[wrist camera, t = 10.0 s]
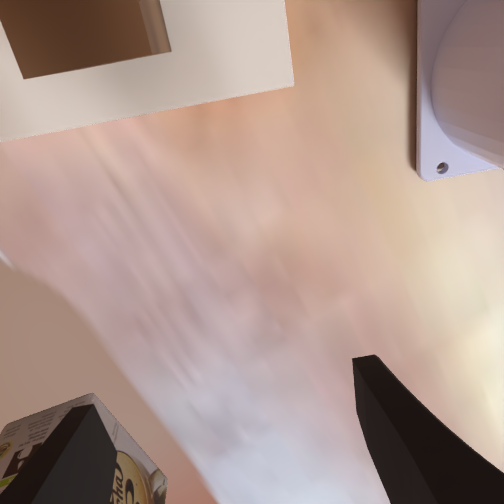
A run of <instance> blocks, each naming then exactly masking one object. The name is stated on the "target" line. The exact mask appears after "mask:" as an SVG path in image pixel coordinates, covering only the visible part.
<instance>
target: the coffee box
mask: <svg viewBox="0 0 504 504" xmlns="http://www.w3.org/2000/svg"><path fill="white" fill-rule="evenodd" d="M89 404H94V405H95V407H96V409H97V411H98V413H99V415H100V417H101V420H102V422H103V424H104V426H105V428H106V430H107V432H108V434H109V436H110V438H111V440H112V442H113V444H114V446H115V448H116V450H117V452H118V453H117V461H116V469H115V477H114V483H113V490H112V495H111V499H110V503H109V504H165V498H166V490H167V482H168V479H167V478H166V476H165V475H163V473H162V472H161V471H160V469H159V468H158V467H157V466H156V465H155V464H154V462H153V461H152V460H151V459H150V458H149V457H148V455H147V454H146V453H145V452H144V451H143V450H142V448H141V447H140V446H139V445H138V444H137V443H136V442H135V440H134V439H133V438H132V437H131V436H130V435H129V433H128V432H127V431H126V430H125V429H124V428H123V427H122V425H121V424H120V423H119V422H118V421H117V420H116V419H115V417H114V416H113V415H112V414H111V413H110V412H109V410H108V409H107V408H106V407H105V406H104V405H103V403H102V402H101V401H100V400H99V399H98V398H97V396H96V395H95V394H94V393H90V394H87V395H84V396H81V397H79V398H76V399H74V400H70V401H68V402H66V403H63V404H60V405H57V406H55V407H51V408H49V409H46V410H43V411H41V412H38V413H36V414H33V415H30V416H27V417H24V418H22V419H19V420H17V421H14V422H11V423H9V424H7V425H6V426H5V427H4V429H3V430H2V432H1V434H0V494H1V493H2V492H3V490H4V489H5V488H6V487H7V486H8V485H9V484H10V483H11V481H12V480H13V479H14V478H15V477H16V475H17V474H18V473H19V472H20V471H21V469H22V468H23V467H24V466H25V465H26V463H27V462H28V461H29V460H30V458H31V457H32V456H33V455H34V454H35V452H36V451H37V450H38V449H39V447H40V446H41V445H42V444H43V443H44V441H45V440H46V439H47V438H48V436H49V435H50V434H51V433H52V431H53V430H54V429H55V428H56V426H57V425H58V424H59V423H60V421H61V420H62V419H63V418H64V417H65V415H66V414H67V413H68V412H69V411H70V410H71V408H72V407H77V406H83V405H89Z"/></svg>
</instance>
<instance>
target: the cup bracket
mask: <svg viewBox="0 0 504 504" xmlns="http://www.w3.org/2000/svg"><path fill="white" fill-rule="evenodd" d="M160 4H161V8H162V12H163V17H164V21H165V25H166V29H167V34H168V38H169V42H170V46H171V50H172V52H168V53H163V54H158V55H152V56H147V57H142V58H137V59H132V60H127V61H122V62H116V63H111V64H106V65H101V66H96V67H91V68H86V69H80V70H75V71H69V72H64V73H58V74H52V75H47V76H41V77H35V78H30V79H23V77H22V74H21V72H20V69H19V67H18V64H17V61H16V59H15V56H14V54H13V51H12V49H11V46H10V44H9V41H8V39H7V36H6V34H5V31H4V29H3V26H2V23H1V21H0V142H5V141H10V140H16V139H21V138H26V137H31V136H36V135H42V134H47V133H52V132H57V131H62V130H67V129H73V128H78V127H83V126H88V125H93V124H99V123H104V122H109V121H114V120H119V119H125V118H130V117H135V116H140V115H145V114H150V113H156V112H161V111H166V110H171V109H176V108H182V107H187V106H192V105H197V104H202V103H207V102H213V101H218V100H223V99H228V98H233V97H239V96H244V95H249V94H254V93H259V92H265V91H270V90H275V89H280V88H285V87H290V86H294V77H293V69H292V60H291V52H290V43H289V35H288V26H287V18H286V10H285V1H284V0H160Z"/></svg>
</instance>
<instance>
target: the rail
mask: <svg viewBox="0 0 504 504" xmlns="http://www.w3.org/2000/svg"><path fill="white" fill-rule="evenodd" d="M0 21H1V23H2V26H3V29H4V31H5V34H6V36H7V39H8V41H9V44H10V46H11V49H12V51H13V54H14V56H15V59H16V61H17V64H18V67H19V69H20V72H21V74H22V77H23V79H30V78H35V77H41V76H47V75H52V74H58V73H64V72H69V71H75V70H80V69H86V68H91V67H96V66H101V65H106V64H111V63H116V62H122V61H127V60H132V59H137V58H142V57H147V56H152V55H158V54H163V53H168V52H172V50H171V46H170V42H169V38H168V34H167V29H166V25H165V21H164V17H163V12H162V8H161V4H160V0H0Z"/></svg>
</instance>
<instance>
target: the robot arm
mask: <svg viewBox="0 0 504 504" xmlns="http://www.w3.org/2000/svg"><path fill="white" fill-rule="evenodd" d="M442 162H444V168H443V169H442V170H441V171H439V172H437V170H436V169H437V166H438V165H439V164H440V163H442ZM498 168H502V169H504V0H418V29H417V149H416V171H417V175H418V176H419V177H420V178H421V179H423V180H425V181H433V180H439V179H444V178H450V177H455V176H460V175H466V174H471V173H477V172H482V171H487V170H493V169H498ZM352 362H353V374H354V386H355V398H356V411H357V415H358V418H359V421H360V425H361V428H362V431H363V435H364V438H365V441H366V444H367V447H368V450H369V453H370V455H371V457H372V460H373V462H374V465H375V467H376V469H377V472H378V474H379V477H380V479H381V481H382V484H383V486H384V488H385V491H386V493H387V496H388V498H389V500H390V503H391V504H504V473H503V472H501V471H500V470H499V469H498V468H496V467H495V466H494V465H492V464H491V463H490V462H488V461H487V460H486V459H485V458H483V457H482V456H481V455H480V454H478V453H477V452H476V451H475V450H473V449H472V448H471V447H470V446H469V445H467V444H466V443H465V442H464V441H463V440H461V439H460V438H459V437H458V436H457V435H456V434H455V433H453V432H452V431H451V430H450V429H449V428H448V427H447V426H445V425H444V424H443V423H442V422H441V421H440V420H439V419H438V418H437V417H436V416H435V415H433V414H432V413H431V412H430V411H429V410H428V409H427V408H426V407H425V406H424V405H423V404H422V403H421V402H420V401H419V400H418V399H417V398H416V397H415V396H414V395H413V394H412V393H411V392H410V391H409V390H408V389H407V388H406V387H405V386H404V385H403V384H402V383H401V382H400V381H399V380H398V379H397V378H396V376H395V375H394V374H393V373H392V372H391V371H390V370H389V369H388V368H387V366H386V365H385V364H384V363H383V362H382V361H381V359H380V358H379V357H377V356H376V355H369V356H364V357H358V358H352ZM117 453H118V452H117V450H116V448H115V446H114V444H113V442H112V440H111V438H110V436H109V434H108V432H107V430H106V428H105V426H104V424H103V422H102V420H101V417H100V415H99V413H98V411H97V409H96V407H95V405H94V404H89V405H83V406H77V407H72V408H71V410H70V411H69V412H68V413H67V414H66V415H65V417H64V418H63V419H62V420H61V421H60V423H59V424H58V425H57V426H56V428H55V429H54V430H53V431H52V433H51V434H50V435H49V436H48V438H47V439H46V440H45V441H44V443H43V444H42V445H41V446H40V447H39V449H38V450H37V451H36V452H35V454H34V455H33V456H32V457H31V458H30V460H29V461H28V462H27V463H26V465H25V466H24V467H23V468H22V469H21V471H20V472H19V473H18V474H17V475H16V477H15V478H14V479H13V480H12V481H11V483H10V484H9V485H8V486H7V487H6V488H5V489H4V490H3V492H2V493H1V494H0V504H109V503H110V499H111V495H112V490H113V483H114V477H115V469H116V461H117Z"/></svg>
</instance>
